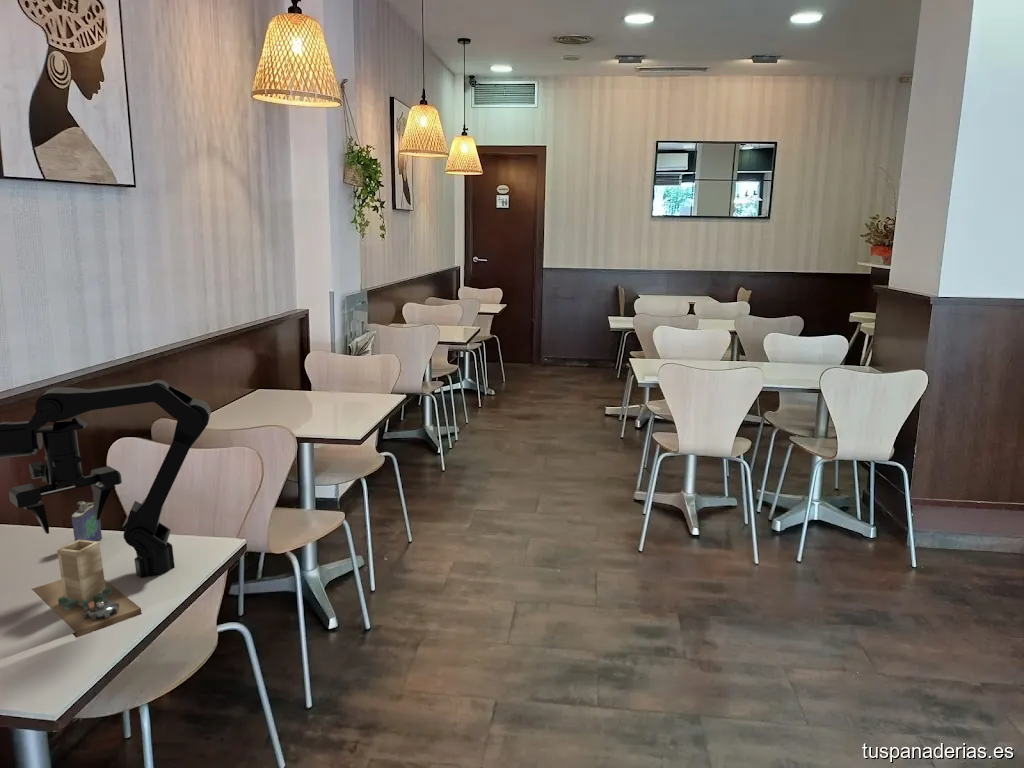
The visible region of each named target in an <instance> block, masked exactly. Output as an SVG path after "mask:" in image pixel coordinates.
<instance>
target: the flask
mask: <svg viewBox="0 0 1024 768" xmlns="http://www.w3.org/2000/svg"><path fill="white" fill-rule="evenodd" d="M77 505H79V506H78V508H79V509H78V510H76V511H75V512H74V513H73V514H72V515H71V523H72V530H73V537H74V541H76V540H87V541H96V542H98V541H99V542H101V539H102V540H103V534H102V529H101V527H102V526H101V518H100V519H99V520H96V519H95V515H94V503H93V502H87V501H86V502H85V501H81V500H80V501H78V502H77Z"/></svg>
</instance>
